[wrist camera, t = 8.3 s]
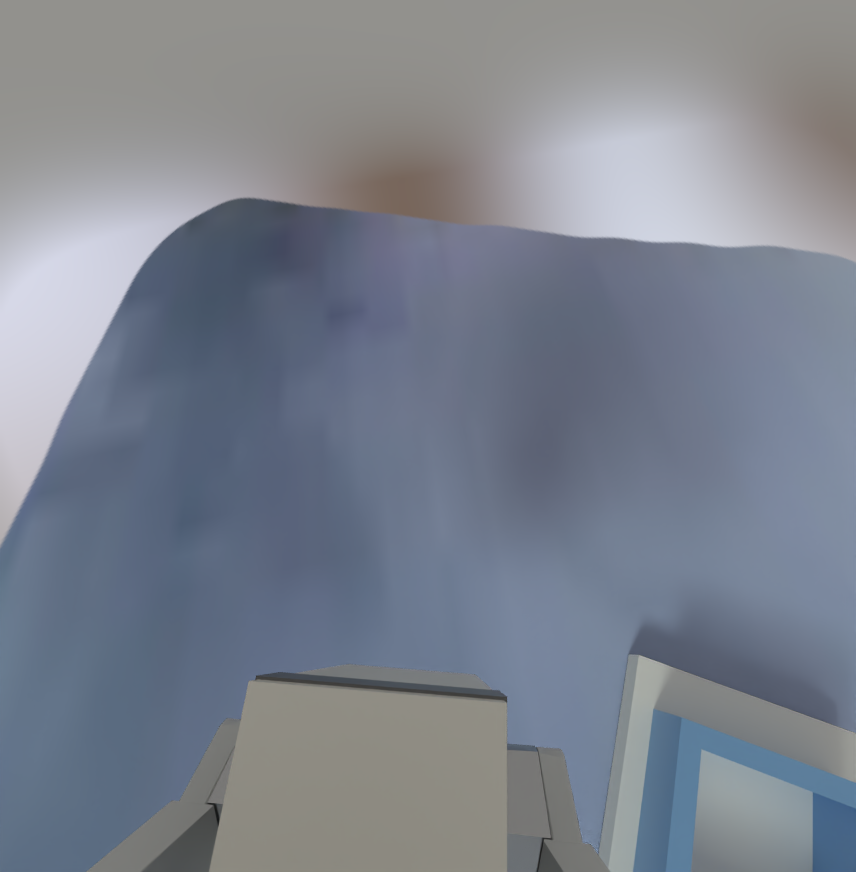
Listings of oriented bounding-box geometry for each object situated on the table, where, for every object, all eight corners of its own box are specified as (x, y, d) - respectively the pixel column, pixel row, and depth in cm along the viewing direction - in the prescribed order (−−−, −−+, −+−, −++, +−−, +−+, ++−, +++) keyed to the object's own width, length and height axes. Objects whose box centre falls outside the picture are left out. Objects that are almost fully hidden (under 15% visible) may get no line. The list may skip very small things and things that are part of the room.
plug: (473, 841, 12) (511, 1115, 5) (325, 826, 13) (163, 1066, 5) (476, 672, 14) (510, 699, 7) (347, 662, 14) (246, 677, 7)
